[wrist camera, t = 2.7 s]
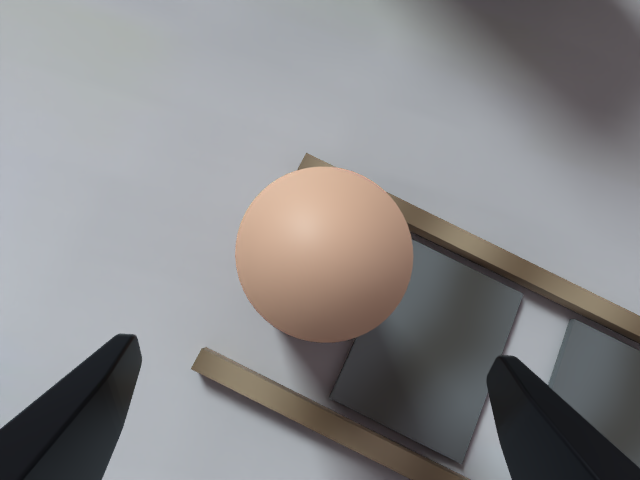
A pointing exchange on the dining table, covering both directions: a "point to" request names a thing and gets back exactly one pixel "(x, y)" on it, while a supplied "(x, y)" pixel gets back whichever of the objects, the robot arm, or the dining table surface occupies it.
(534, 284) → the frame
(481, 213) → the dining table surface
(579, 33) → the dining table surface
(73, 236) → the dining table surface
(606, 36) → the dining table surface
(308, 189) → the peach capsule
